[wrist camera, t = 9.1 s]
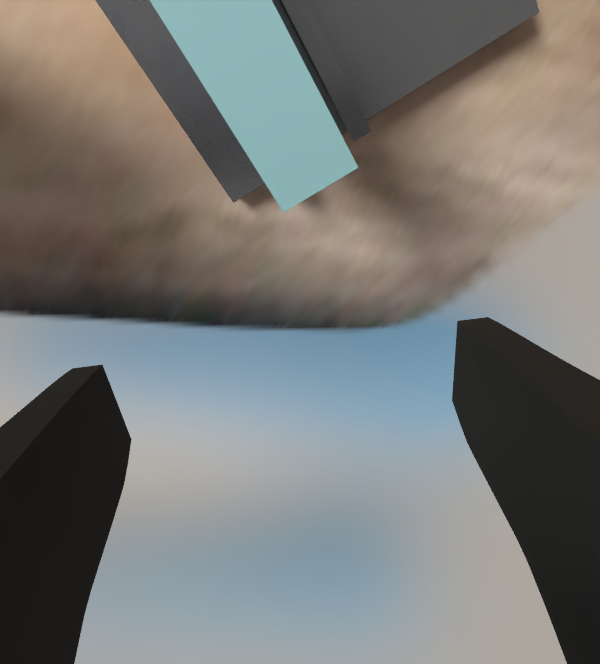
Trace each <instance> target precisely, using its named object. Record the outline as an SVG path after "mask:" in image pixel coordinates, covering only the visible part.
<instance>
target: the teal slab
mask: <svg viewBox="0 0 600 664" xmlns="http://www.w3.org/2000/svg"><path fill="white" fill-rule="evenodd" d="M150 2H151V3H152V5H153V6H154V8H155V10H156V11H157V13H158V14H159V16H160V18H161V19H162V21H163V22H164V24H165V25H166V27H167V29H168V30H169V32H170V33H171V35H172V37H173V38H174V40H175V41H176V43H177V45H178V46H179V48H180V49H181V51H182V52H183V54H184V56H185V57H186V59H187V60H188V62H189V64H190V65H191V67H192V68H193V70H194V72H195V73H196V75H197V76H198V78H199V79H200V81H201V83H202V84H203V86H204V87H205V89H206V91H207V92H208V94H209V95H210V97H211V98H212V100H213V102H214V103H215V105H216V106H217V108H218V110H219V111H220V113H221V114H222V116H223V118H224V119H225V121H226V122H227V124H228V125H229V127H230V129H231V130H232V132H233V133H234V135H235V137H236V138H237V140H238V141H239V143H240V145H241V146H242V148H243V149H244V151H245V152H246V154H247V156H248V157H249V159H250V160H251V162H252V164H253V165H254V167H255V168H256V170H257V171H258V173H259V175H260V176H261V178H262V179H263V181H264V183H265V184H266V186H267V187H268V189H269V191H270V192H271V194H272V195H273V197H274V198H275V200H276V202H277V203H278V205H279V206H280V208H281V210H282V211H283V213H284V212H285V211H287V210H289V209H290V208H292V207H294V206H295V205H297V204H299V203H300V202H302V201H304V200H305V199H307V198H309V197H310V196H312V195H314V194H315V193H317V192H319V191H320V190H322V189H324V188H325V187H327V186H329V185H330V184H332V183H333V182H335V181H337V180H338V179H340V178H342V177H343V176H345V175H347V174H348V173H350V172H352V171H353V170H355V169H357V168H358V166H357V164H356V162H355V160H354V158H353V156H352V154H351V152H350V150H349V148H348V146H347V145H346V143H345V141H344V139H343V137H342V135H341V133H340V131H339V129H338V127H337V125H336V123H335V121H334V119H333V117H332V116H331V114H330V112H329V110H328V108H327V106H326V104H325V102H324V100H323V98H322V96H321V94H320V92H319V90H318V89H317V87H316V85H315V83H314V81H313V79H312V77H311V75H310V73H309V71H308V69H307V67H306V65H305V63H304V62H303V60H302V58H301V56H300V54H299V52H298V50H297V48H296V46H295V44H294V42H293V40H292V38H291V36H290V34H289V33H288V31H287V29H286V27H285V25H284V23H283V21H282V19H281V17H280V15H279V13H278V11H277V9H276V7H275V6H274V4H273V2H272V0H150Z"/></svg>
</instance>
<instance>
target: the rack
mask: <svg viewBox="0 0 600 664" xmlns="http://www.w3.org/2000/svg"><path fill="white" fill-rule="evenodd" d="M96 2H97V3H98V5H99V6H100V7H101V9H102V10H103V12H104V13H105V15H106V16H107V18H108V19H109V21H110V22H111V24H112V25H113V27H114V28H115V30H116V31H117V32H118V34H119V35H120V37H121V38H122V40H123V41H124V43H125V44H126V46H127V47H128V49H129V50H130V52H131V53H132V54H133V56H134V57H135V59H136V60H137V62H138V63H139V65H140V66H141V68H142V69H143V71H144V72H145V74H146V75H147V76H148V78H149V79H150V81H151V82H152V84H153V85H154V87H155V88H156V90H157V91H158V93H159V94H160V96H161V97H162V98H163V100H164V101H165V103H166V104H167V106H168V107H169V109H170V110H171V112H172V113H173V115H174V116H175V118H176V119H177V120H178V122H179V123H180V125H181V126H182V128H183V129H184V131H185V132H186V134H187V135H188V137H189V138H190V140H191V141H192V143H193V144H194V145H195V147H196V148H197V150H198V151H199V153H200V154H201V156H202V157H203V159H204V160H205V162H206V163H207V165H208V166H209V167H210V169H211V170H212V172H213V173H214V175H215V176H216V178H217V179H218V181H219V182H220V184H221V185H222V187H223V188H224V189H225V191H226V192H227V194H228V195H229V197H230V198H231V200H232V201H233V203H234V202H236V201H237V200H239V199H240V198H242V197H244V196H245V195H247V194H248V193H250V192H252V191H253V190H255V189H256V188H258V187H260V186H261V185H263V184H264V181H263V179H262V178H261V176H260V175H259V173H258V171H257V170H256V168H255V167H254V165H253V164H252V162H251V160H250V159H249V157H248V156H247V154H246V152H245V151H244V149H243V148H242V146H241V145H240V143H239V141H238V140H237V138H236V137H235V135H234V133H233V132H232V130H231V129H230V127H229V125H228V124H227V122H226V121H225V119H224V118H223V116H222V114H221V113H220V111H219V110H218V108H217V106H216V105H215V103H214V102H213V100H212V98H211V97H210V95H209V94H208V92H207V91H206V89H205V87H204V86H203V84H202V83H201V81H200V79H199V78H198V76H197V75H196V73H195V72H194V70H193V68H192V67H191V65H190V64H189V62H188V60H187V59H186V57H185V56H184V54H183V52H182V51H181V49H180V48H179V46H178V45H177V43H176V41H175V40H174V38H173V37H172V35H171V33H170V32H169V30H168V29H167V27H166V25H165V24H164V22H163V21H162V19H161V18H160V16H159V14H158V13H157V11H156V10H155V8H154V6H153V5H152V3H151V2H150V0H96ZM272 2H273V4H274V6H275V7H276V9H277V11H278V13H279V15H280V17H281V19H282V21H283V23H284V25H285V27H286V29H287V31H288V33H289V34H290V36H291V38H292V40H293V42H294V44H295V46H296V48H297V50H298V52H299V54H300V56H301V58H302V60H303V62H304V63H305V65H306V67H307V69H308V71H309V73H310V75H311V77H312V79H313V81H314V83H315V85H316V87H317V89H318V90H319V92H320V94H321V96H322V98H323V100H324V102H325V104H326V106H327V108H328V110H329V112H330V114H331V116H332V117H333V119H334V121H335V123H336V125H337V127H338V129H339V131H340V133H341V135H343V134H345V133H346V132H347V133H348V134H349V136H350V137H351V139H352V140H353V141H355V140H357V139H358V138H360V137H361V136H363V135H365V134H366V133H368V132H370V131H371V130H370V128H369V126H368V124H367V122H366V120H367V119H369V118H370V117H372V116H374V115H375V114H377V113H378V112H380V111H382V110H383V109H385V108H386V107H388V106H390V105H391V104H393V103H394V102H396V101H398V100H399V99H401V98H402V97H404V96H406V95H407V94H409V93H410V92H412V91H414V90H415V89H417V88H418V87H420V86H422V85H423V84H425V83H426V82H428V81H430V80H431V79H433V78H434V77H436V76H438V75H439V74H441V73H442V72H444V71H446V70H447V69H449V68H450V67H452V66H454V65H455V64H457V63H458V62H460V61H462V60H463V59H465V58H467V57H468V56H470V55H471V54H473V53H475V52H476V51H478V50H479V49H481V48H483V47H484V46H486V45H487V44H489V43H491V42H492V41H494V40H495V39H497V38H499V37H500V36H502V35H503V34H505V33H507V32H508V31H510V30H511V29H513V28H515V27H516V26H518V25H519V24H521V23H523V22H524V21H526V20H527V19H529V18H531V17H532V16H534V15H535V14H537V13H539V9H538V6H537V2H536V0H272Z"/></svg>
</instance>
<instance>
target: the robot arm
mask: <svg viewBox="0 0 600 664" xmlns="http://www.w3.org/2000/svg"><path fill="white" fill-rule="evenodd" d="M456 338H457V339H456V353H455V366H454V367H455V368H454V382H453V397H452V401H453V404H454V406H455V410H456V413H457V416H458V418H459V421H460V424H461V427H462V430H463V432H464V435H465V438H466V440H467V443H468V444H469V447H470V449H471V451H472V453H473V455H474V457H475V459H476V461H477V463H478V465H479V467H480V469H481V470H482V472H483V474H484V476H485V478H486V480H487V482H488V484H489V486H490V488H491V490H492V492H493V493H494V496H495V497H496V499H497V501H498V503H499V505H500V507H501V509H502V511H503V513H504V515H505V517H506V519H507V520H508V522H509V524H510V526H511V528H512V530H513V531H514V534H515V536H516V538H517V540H518V542H519V544H520V546H521V548H522V550H523V553H524V555H525V557H526V559H527V561H528V564H529V566H530V569H531V571H532V573H533V576H534V579H535V581H536V583H537V586H538V589H539V591H540V594H541V596H542V599H543V601H544V603H545V606H546V609H547V611H548V614H549V617H550V619H551V622H552V624H553V627H554V630H555V632H556V635H557V638H558V640H559V643H560V646H561V648H562V651H563V654H564V656H565V659H566V661H567V664H600V380H598V379H596V378H595V377H593V376H591V375H589V374H587V373H585V372H583V371H581V370H580V369H578V368H576V367H574V366H572V365H571V364H569V363H567V362H565V361H563V360H562V359H560V358H558V357H557V356H555V355H553V354H551V353H550V352H548V351H546V350H544V349H543V348H541V347H539V346H538V345H536V344H534V343H532V342H531V341H529V340H527V339H526V338H524V337H522V336H521V335H519V334H517V333H515V332H514V331H512V330H510V329H509V328H507V327H505V326H503V325H502V324H500V323H498V322H496V321H494V320H492V319H490V318H488V317H487V318H479V319H470V320H462V321H458V323H457V337H456ZM130 444H131V438H130V435H129V432H128V430H127V427H126V425H125V422H124V419H123V417H122V414H121V412H120V409H119V407H118V404H117V401H116V399H115V396H114V394H113V391H112V389H111V386H110V383H109V381H108V378H107V376H106V373H105V370H104V368H103V365H97V366H90V367H81V368H73V369H71V370H70V371H69V372H67V373H66V374H64V375H63V376H62V377H60V378H59V379H58V380H57V381H55V382H54V383H53V384H51V385H50V386H49V387H48V388H47V389H45V390H44V391H43V392H42V393H41V394H39V395H38V396H37V397H36V398H35V399H34V400H33V401H31V402H30V403H29V404H28V405H27V406H25V407H24V408H23V409H22V410H21V411H20V412H18V413H17V414H16V415H15V416H14V417H12V418H11V419H10V420H9V421H8V422H6V423H5V424H4V425H3V426H1V427H0V664H74V662H75V657H76V652H77V647H78V642H79V638H80V633H81V628H82V623H83V619H84V614H85V610H86V607H87V602H88V599H89V596H90V592H91V588H92V585H93V582H94V579H95V576H96V573H97V569H98V566H99V563H100V560H101V557H102V554H103V550H104V547H105V544H106V541H107V538H108V535H109V532H110V528H111V525H112V522H113V519H114V516H115V512H116V509H117V506H118V503H119V499H120V496H121V492H122V489H123V485H124V481H125V476H126V470H127V465H128V458H129V451H130Z"/></svg>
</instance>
